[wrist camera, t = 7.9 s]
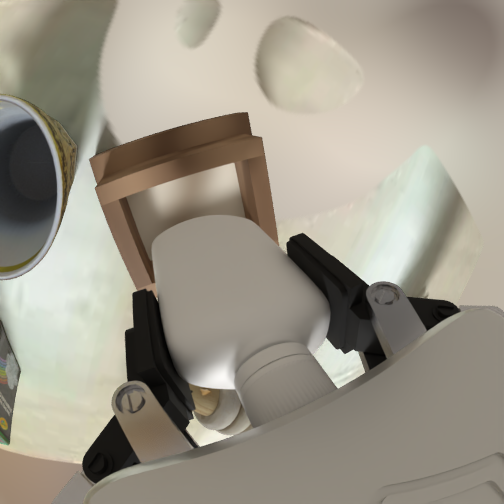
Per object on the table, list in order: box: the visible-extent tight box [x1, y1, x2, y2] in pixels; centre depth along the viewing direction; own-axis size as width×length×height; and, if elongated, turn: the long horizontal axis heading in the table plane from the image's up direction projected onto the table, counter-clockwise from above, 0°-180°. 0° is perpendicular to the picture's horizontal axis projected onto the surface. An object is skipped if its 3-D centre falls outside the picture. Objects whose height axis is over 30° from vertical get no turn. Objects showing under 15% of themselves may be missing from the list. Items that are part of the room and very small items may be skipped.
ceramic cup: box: [0, 94, 77, 280], centre depth 12 cm, size 13×10×10 cm
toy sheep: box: [188, 383, 253, 436], centre depth 29 cm, size 11×17×11 cm, turn 60°
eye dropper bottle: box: [152, 215, 337, 429], centre depth 10 cm, size 4×6×12 cm
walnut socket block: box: [89, 112, 279, 297], centre depth 20 cm, size 12×12×6 cm
